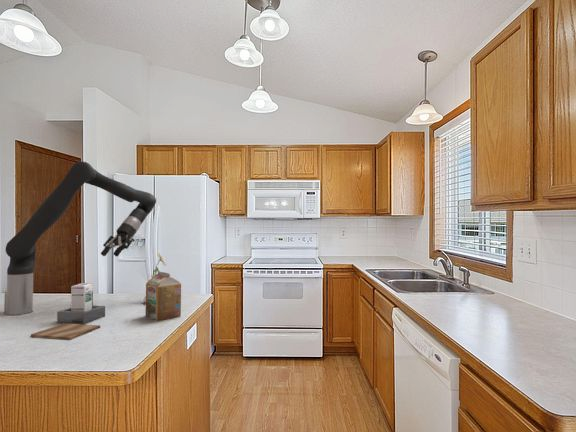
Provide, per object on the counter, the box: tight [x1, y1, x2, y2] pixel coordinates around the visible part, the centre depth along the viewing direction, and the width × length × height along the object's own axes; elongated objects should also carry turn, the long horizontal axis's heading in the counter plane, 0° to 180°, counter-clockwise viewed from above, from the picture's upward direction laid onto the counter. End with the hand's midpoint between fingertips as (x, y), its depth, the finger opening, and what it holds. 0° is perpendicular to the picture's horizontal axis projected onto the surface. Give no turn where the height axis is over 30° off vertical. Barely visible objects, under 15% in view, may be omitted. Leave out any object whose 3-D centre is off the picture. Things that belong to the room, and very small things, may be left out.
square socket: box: [56, 304, 106, 325], centre depth 140 cm, size 12×12×4 cm
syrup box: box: [70, 282, 94, 312], centre depth 140 cm, size 6×6×14 cm
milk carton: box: [145, 270, 182, 323], centre depth 146 cm, size 11×11×19 cm
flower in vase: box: [142, 252, 167, 303], centre depth 173 cm, size 13×11×25 cm
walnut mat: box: [30, 323, 101, 341], centre depth 124 cm, size 16×14×1 cm
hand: (108, 255), depth 152 cm, fingers open, 8 cm apart
